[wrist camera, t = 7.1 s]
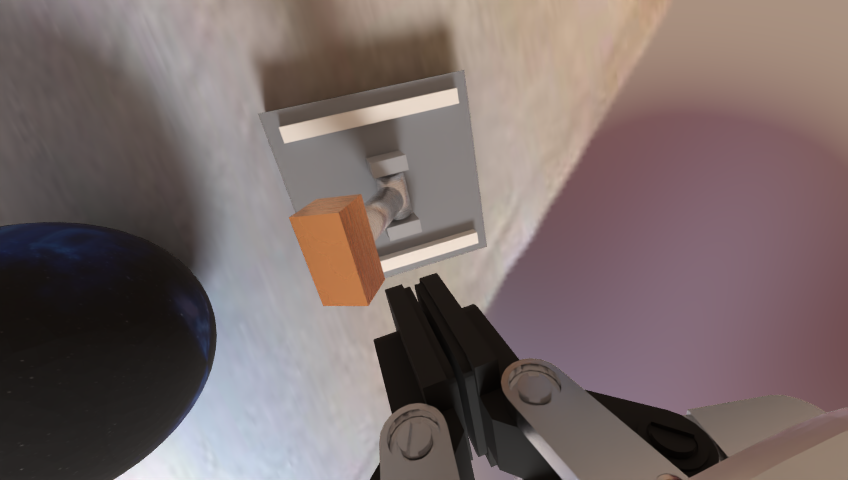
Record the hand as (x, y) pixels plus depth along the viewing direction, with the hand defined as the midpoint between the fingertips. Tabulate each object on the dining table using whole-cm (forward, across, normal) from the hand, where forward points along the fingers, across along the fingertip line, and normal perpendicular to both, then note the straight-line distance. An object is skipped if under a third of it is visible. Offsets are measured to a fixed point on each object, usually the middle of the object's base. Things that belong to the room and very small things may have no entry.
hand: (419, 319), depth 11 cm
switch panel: (+19, -2, 0) cm, 19 cm away
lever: (+15, -2, 0) cm, 15 cm away
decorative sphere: (+20, +19, +4) cm, 27 cm away
